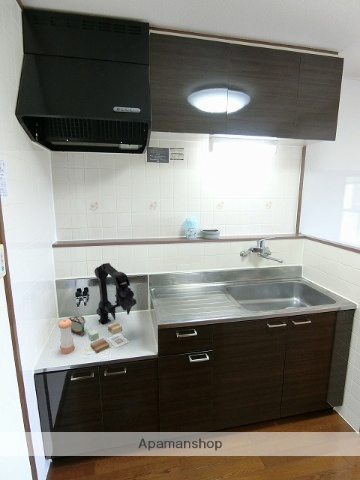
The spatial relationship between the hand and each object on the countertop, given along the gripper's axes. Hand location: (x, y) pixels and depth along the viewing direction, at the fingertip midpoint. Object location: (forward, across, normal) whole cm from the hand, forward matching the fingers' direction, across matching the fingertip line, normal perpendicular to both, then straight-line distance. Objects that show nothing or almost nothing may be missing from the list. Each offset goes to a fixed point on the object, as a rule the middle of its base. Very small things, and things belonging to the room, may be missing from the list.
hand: (121, 317), depth 155 cm
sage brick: (+14, -14, +10) cm, 22 cm away
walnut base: (+14, -15, -1) cm, 20 cm away
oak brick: (+14, 0, +9) cm, 17 cm away
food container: (+14, -18, +22) cm, 32 cm away
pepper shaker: (+14, -30, +9) cm, 34 cm away
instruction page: (+13, -4, -2) cm, 14 cm away
